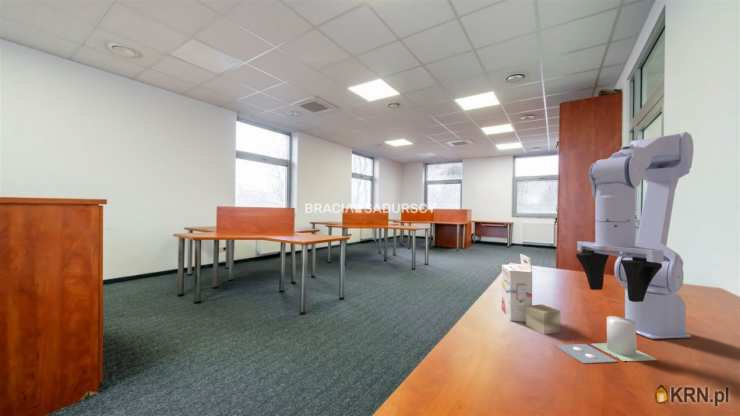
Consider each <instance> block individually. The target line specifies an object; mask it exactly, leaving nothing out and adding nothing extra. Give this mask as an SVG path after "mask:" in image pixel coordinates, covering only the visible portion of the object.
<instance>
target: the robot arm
mask: <svg viewBox="0 0 740 416" xmlns="http://www.w3.org/2000/svg"><path fill="white" fill-rule="evenodd" d="M693 157H694V140H693V137H692V135H691V134H690V133H688V132H687V131H683V132H681V133H675V134H669V135H663V136H662V135H661V136H655V137H649V138H644V139H635V140H632V141H630V143H629V144H624V145H622V146H621V147H620V150H619V151H617V152H613V153H612V155H611V156H609V157H608V158H604V159H599V160H596V161H595V163H594V162H593V163H592V164H591V166H590V168H589V173H588V179H589V183H590V186H591V195H592V198H594V199H595V200H594V202H595V203H594V204H595V208H594V209H595V210H594V211H595V212H594V214H595V215H594V216H595V220H594V224H595V226H594V228H595V229H594V230H595V231H594V233H595V235H594V237H595V239H594V240H595V241H594V242H592V241H577V244H576V245H577V253H575V254H576V255H575V257H576V259H577V260H578V262H579V263H580V265H581V266H582V269H583V271H584V274H585V275H586V280H587V281H588V282H587V283H588V286H589V288H590V290H592V291H603V288H604V282H605V281H604V276H605V268H606V265H607V261H608V260H609V257H610V256H613V257H614V256H615V257H617V258H616V260H615V261H614V269H613V270H614V277H615V279H616V280H617V281H618V282H619V283H620V284H621V287H624V318H627V319H630V320H633V321H635V322H636V334H638V335H641V336H643V337H646V338H648V339H653V340H654V339H656V340H657V339H677V338H678V339H681V338H684V339H685V338H691V337H692V335H691V334H690V333H687V324H686V323H687V317H686V316H687V310H686V309H687V308H686V307H687V306H686V302H685V300H684V299H683V297H682V296H681V295H680V294H678V293H677V292H678V291H680V290H681V289H682V287H683V284H684V260H683V259H682V257H681V256H680V254H679V253H678V252H676V251H674V250H673V249H671V248H670V247H668V246H667V244H668V237H669V231H670V226H671V220H672V218H671V217H672V213H673V206H674V199H675V193H676V189H677V185H678V182H679V179H681V178H682V177H685V176H686V175H688V174H690V171H691V168H692V165H693ZM642 180H643V181H645V183H646V189H645V194H644V199H643V205H642V210H641V216H640V221H639V226H638V230H637V231H638V233H637V238H636V188H637V187H639V186H640V184H641V182H642ZM579 252H581V253H579Z"/></svg>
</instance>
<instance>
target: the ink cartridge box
mask: <svg viewBox="0 0 740 416" xmlns="http://www.w3.org/2000/svg"><path fill="white" fill-rule="evenodd" d="M519 258H520V265H519V264H501V310H502V311H503V313H504V314H505V316H506V317H507V319H508V320H510V322H521V323H526V306H530V305H533V268H532V259H531V257H528V256H527V255H525V254H523V253H520V254H519ZM525 261H526V262H527V263H526V262H525Z"/></svg>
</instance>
